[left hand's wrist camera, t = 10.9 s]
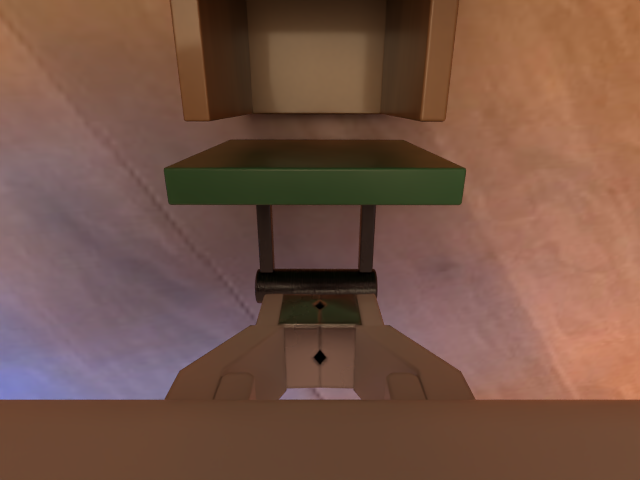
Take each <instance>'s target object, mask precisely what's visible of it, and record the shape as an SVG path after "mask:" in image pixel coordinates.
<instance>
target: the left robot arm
mask: <svg viewBox="0 0 640 480" xmlns="http://www.w3.org/2000/svg"><path fill="white" fill-rule="evenodd" d="M318 387H321V388H354V391H355V392H356V393H357V395H358V396H359V397H360V398H361V399H362V400H279V399H280V397H281V396H282V395H283V394H284V393H285V391H286V388H318ZM0 480H640V400H476V399H475V398H474V396H473V394H472V392H471V390H470V388H469V386H468V384H467V382H466V380H465V378H464V376H463V375H462V373H461V371H459V370H458V369H456V368H455V367H453V366H452V365H450V364H448V363H447V362H445V361H444V360H442V359H441V358H439V357H438V356H436V355H435V354H433V353H431V352H430V351H428V350H427V349H425V348H424V347H422V346H421V345H419V344H418V343H416V342H414V341H413V340H411V339H410V338H408V337H407V336H405V335H404V334H402V333H400V332H399V331H397V330H396V329H394V328H393V327H391V326H390V325H384V323H383V319H382V316H381V312H380V309H379V306H378V302H377V299H376V296H375V294H334V295H306V294H266V295H265V296H264V298H263V302H262V305H261V309H260V312H259V316H258V319H257V323H256V325H250V326H249V327H247V328H246V329H244V330H243V331H241V332H239V333H238V334H236V335H235V336H233V337H232V338H230V339H229V340H227V341H225V342H224V343H222V344H221V345H219V346H218V347H216V348H215V349H213V350H211V351H210V352H208V353H207V354H205V355H204V356H202V357H201V358H199V359H198V360H196V361H194V362H193V363H191V364H190V365H188V366H187V367H185V368H184V369H182V370H180V371H179V373H178V375H177V377H176V379H175V381H174V382H173V384H172V386H171V388H170V390H169V392H168V394H167V396H166V398H165V399H164V400H0Z"/></svg>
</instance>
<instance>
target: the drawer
mask: <svg viewBox="0 0 640 480" xmlns="http://www.w3.org/2000/svg"><path fill="white" fill-rule="evenodd" d="M458 5H459V0H170V7H171V15H172V23H173V32H174V40H175V48H176V57H177V65H178V73H179V81H180V90H181V98H182V106H183V115H184V120H185V121H213V120H219V119H224V118H230V117H236V116H241V115H247V114H385V115H391V116H396V117H401V118H406V119H411V120H416V121H422V122H442V121H445V119H446V110H447V102H448V93H449V84H450V75H451V67H452V58H453V49H454V40H455V32H456V23H457V14H458ZM164 175H165V182H166V189H167V196H168V203H169V204H171V205H256V208H257V225H258V242H259V258H260V269H258V270H257V273H256V280H255V296H256V301H257V303H262V302H263V298H264V296H265V295H266V294H306V295H334V294H375V296H376V299H377V275H376V271H375V269H372V267H373V249H374V231H375V213H376V205H460V204H461V203H462V196H463V189H464V182H465V175H466V168H464V167H461V166H459V165H457V164H455V163H453V162H450V161H448V160H446V159H444V158H442V157H439V156H437V155H435V154H433V153H431V152H428V151H426V150H424V149H422V148H420V147H417V146H415V145H413V144H411V143H409V142H406V141H404V140H229V141H226V142H224V143H222V144H219V145H217V146H215V147H212V148H210V149H208V150H205V151H203V152H201V153H198V154H196V155H194V156H191V157H189V158H187V159H184V160H182V161H180V162H177V163H175V164H173V165H170V166H168V167H166V168H164ZM272 205H361V209H360V234H359V258H358V269H274V268H275V263H274V241H273V218H272Z"/></svg>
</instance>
